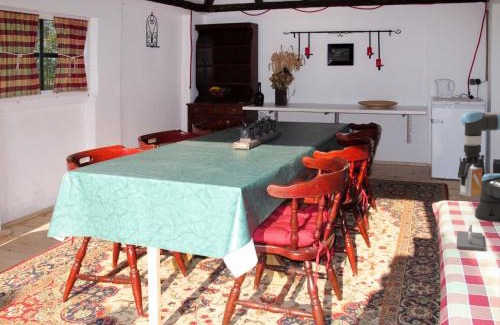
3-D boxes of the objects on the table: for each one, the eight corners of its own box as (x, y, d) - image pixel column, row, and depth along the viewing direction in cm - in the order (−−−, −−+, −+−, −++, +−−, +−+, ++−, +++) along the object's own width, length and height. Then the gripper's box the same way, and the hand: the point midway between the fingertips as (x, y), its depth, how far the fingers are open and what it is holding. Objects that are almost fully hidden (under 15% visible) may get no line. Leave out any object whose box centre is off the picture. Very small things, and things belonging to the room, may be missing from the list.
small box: (470, 197, 261) (472, 170, 258) (459, 194, 266) (460, 168, 264) (481, 194, 265) (482, 167, 262) (470, 192, 270) (471, 166, 268)
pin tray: (457, 233, 262) (457, 221, 261) (482, 235, 258) (482, 222, 257) (456, 248, 242) (457, 235, 241) (483, 250, 238) (484, 237, 237)
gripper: (482, 141, 269) (480, 186, 273) (450, 145, 260) (448, 192, 264) (494, 143, 262) (492, 189, 266) (462, 147, 253) (460, 195, 257)
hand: (470, 190), depth 265 cm, fingers closed on small box, 8 cm apart
